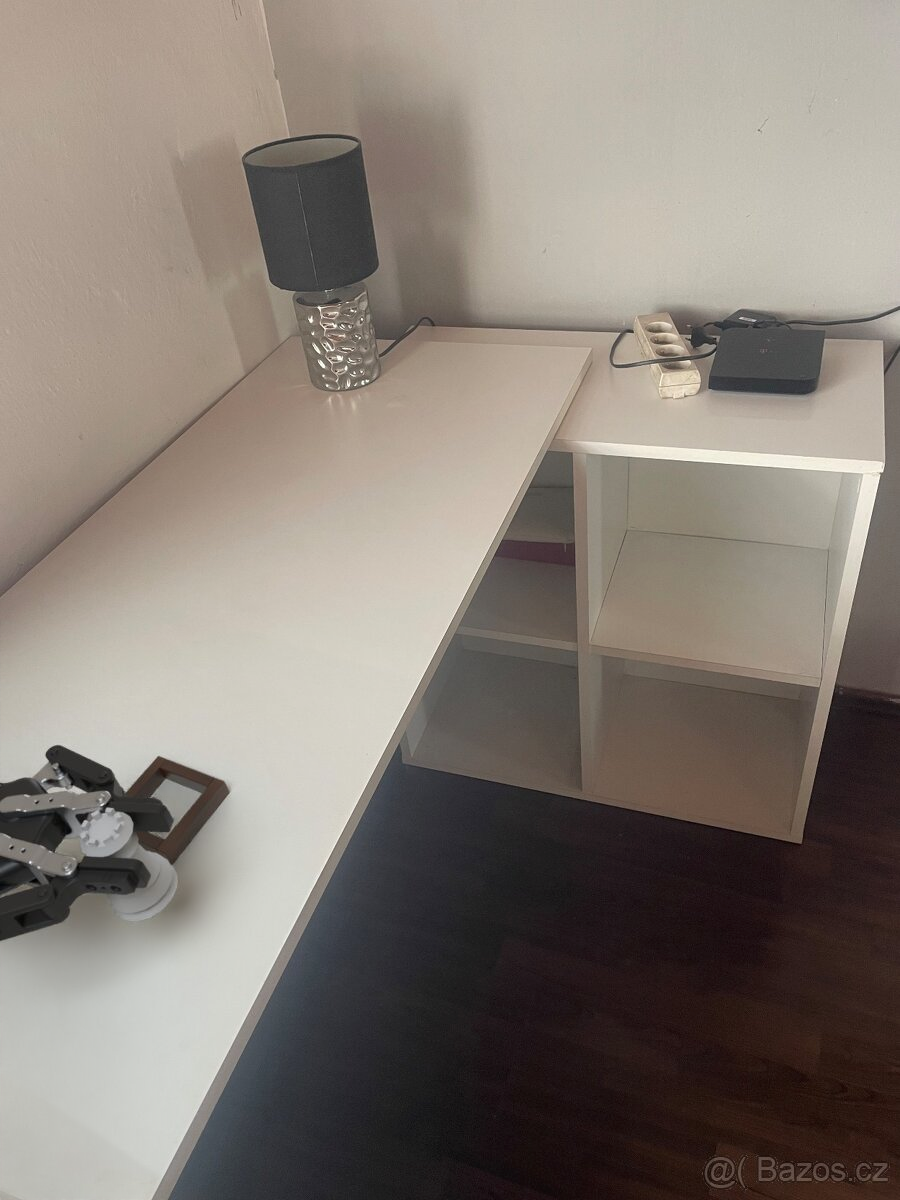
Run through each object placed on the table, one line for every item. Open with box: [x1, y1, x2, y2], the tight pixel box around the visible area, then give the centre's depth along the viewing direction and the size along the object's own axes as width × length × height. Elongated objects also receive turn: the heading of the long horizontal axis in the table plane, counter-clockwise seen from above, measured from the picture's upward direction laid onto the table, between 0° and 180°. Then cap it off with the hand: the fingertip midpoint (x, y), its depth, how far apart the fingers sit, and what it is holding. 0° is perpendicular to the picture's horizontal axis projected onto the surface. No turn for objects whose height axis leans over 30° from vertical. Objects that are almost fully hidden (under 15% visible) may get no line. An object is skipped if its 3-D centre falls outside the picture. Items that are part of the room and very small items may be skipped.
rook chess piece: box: [79, 808, 179, 922], centre depth 55 cm, size 4×4×8 cm
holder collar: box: [125, 755, 230, 865], centre depth 69 cm, size 7×7×2 cm
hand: (155, 844), depth 53 cm, fingers closed on rook chess piece, 3 cm apart
